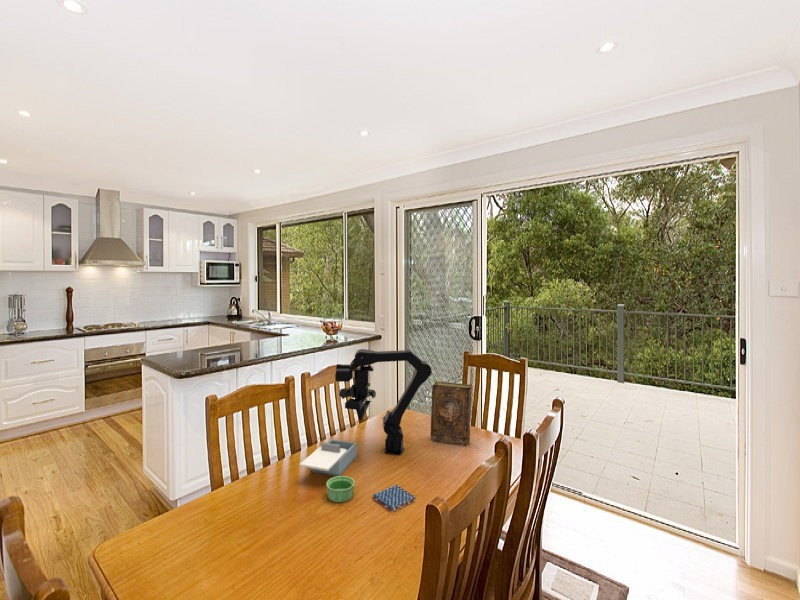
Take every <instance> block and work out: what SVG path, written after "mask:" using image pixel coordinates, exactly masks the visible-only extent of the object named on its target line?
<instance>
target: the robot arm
mask: <svg viewBox="0 0 800 600" xmlns="http://www.w3.org/2000/svg"><path fill="white" fill-rule="evenodd" d="M384 362H385V363H387V362H389V363H390V362H408V363H409V364H410V365H411V366H412V367H413V372H412V376H411V380H410V381H409V383H408V384H407V386H406V387H405V390H404V391H403V394H402V395H401V396H400V398H399V400H398V402H397V403H396V405H395V407H394V408H393V409H392V410H389V409H387V411H386V413H385V416H383V417H382V427H383V432H384V433H385V435H386V437H385V440H384V449H385V451H384V453H385V454H390V455H397V456H401V455H402V453H403V451H404V450H405V447H404V433H403V428H402V426H401V422H402V419H403V415H404V414H405V412H406V410H407V409H408V407H409V405H410V403H411V402H412V401H413V398H414V397H415V395H416V394H417V392H418V390H419V388H420V386H423V384H424V383H425V382H426V381H427V380H428V379H429V378H430V376H431V375H432V373H433V370H432V367H431V366H430V364H429V363H428V362H427V361H425V360H421V358H419V357H418V356H417V355H416V354H415V353H413V351H412V349H411V350H410V349H401V350H387V351H386V350H383V351H381V350H380V351H377V350H371V349H365V348H360V349H357V351H356V352H355V353H354V358H353V360H352V361H350V364H341V363H336V365H335V374H334V376H335V377H334V378H335V379H334V381H335V382H338V383H339V382H341V383H342V382H343V383H346V382H350V381H352V380H353V379H354V380H353V381H354V382H353V384H352V385H351V386H348V387H344V388H341V389H339V393H338V396H339V397H340V398H341V400H344V399H345V398H349V399H348V400H346V401H345V402H344V409H348V410H355V411H356V414H357V418H358V421H363V419H364V417H365V415H366V412H367V409H368V408H369V406H370V403H371V402H372V401H371V400H368V399H369V397H371V398H372V399H375V398H376V396H377V394H376V393H377V392H376V390H375V389H370V388H369V387H371V383H370V382H369V381H370V380H369V379H370V378H369V377H370V375H369V374H370V372H374V367H373V366H372V365H374V364H377V363H384ZM353 376H354V377H353Z"/></svg>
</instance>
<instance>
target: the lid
mask: <svg viewBox="0 0 800 600" xmlns="http://www.w3.org/2000/svg"><path fill="white" fill-rule="evenodd" d="M346 452H347V450H346V449H340V445H337V444H330V443H327V442H322V443H321V444H320V446H319V447H318V448H317V449H315V450H314V451H313V452H312V453H310V454H309V456H307V457H305V459H304V460H303V461H301V462H300V463H299V467H303V468H309V469H311V468H313V469H319V470H325V471H329V470H330V469H331V468H332V467H333V466H334V465H335V464H336V463H337V462H338V461H339V460H340V458H341V457H342V456H343V455H344V454H345V453H346Z"/></svg>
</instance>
